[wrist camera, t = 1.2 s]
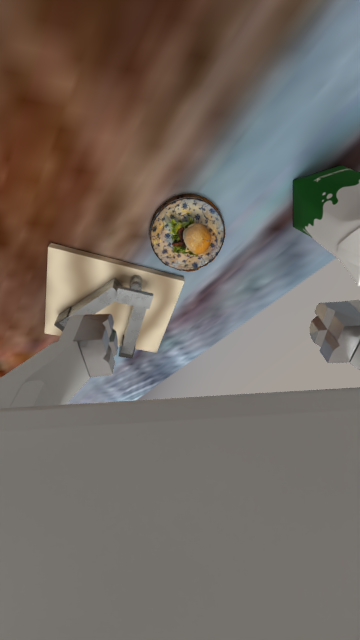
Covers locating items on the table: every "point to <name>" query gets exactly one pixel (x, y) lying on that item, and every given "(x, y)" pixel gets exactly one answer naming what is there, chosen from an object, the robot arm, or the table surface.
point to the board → (95, 271)
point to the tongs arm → (90, 303)
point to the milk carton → (331, 213)
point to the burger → (187, 232)
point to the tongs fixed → (133, 313)
